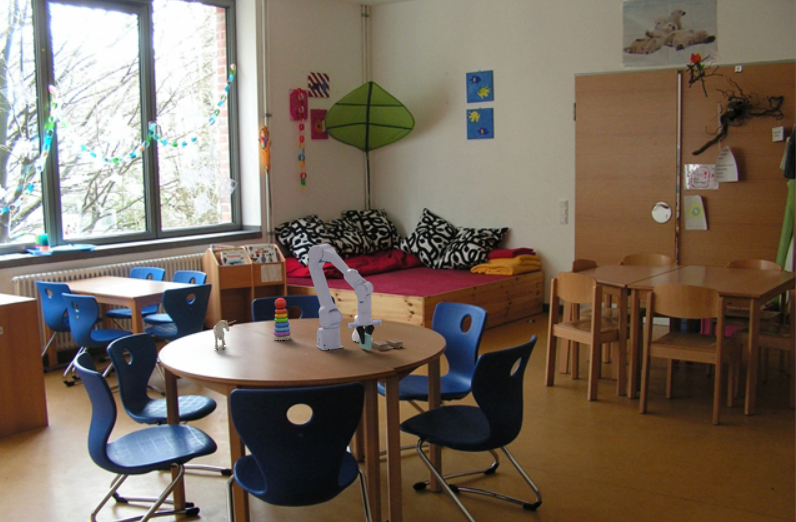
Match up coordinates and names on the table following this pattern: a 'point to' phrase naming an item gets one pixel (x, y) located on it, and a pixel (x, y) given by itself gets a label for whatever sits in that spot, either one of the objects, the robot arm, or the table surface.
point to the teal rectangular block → (366, 342)
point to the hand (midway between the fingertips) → (365, 343)
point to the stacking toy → (281, 321)
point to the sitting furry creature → (355, 334)
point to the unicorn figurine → (221, 331)
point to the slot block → (387, 344)
